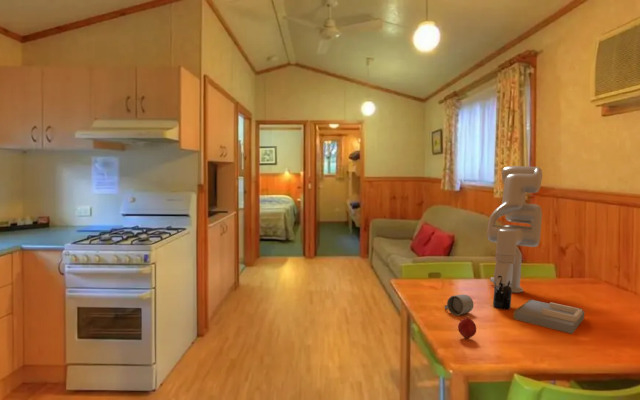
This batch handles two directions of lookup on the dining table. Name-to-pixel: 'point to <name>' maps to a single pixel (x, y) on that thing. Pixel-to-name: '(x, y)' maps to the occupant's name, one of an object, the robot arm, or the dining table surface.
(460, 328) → the onion
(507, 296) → the supplement bottle
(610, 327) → the dining table surface
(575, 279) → the dining table surface
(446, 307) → the ceramic mug
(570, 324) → the dock
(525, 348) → the dining table surface
